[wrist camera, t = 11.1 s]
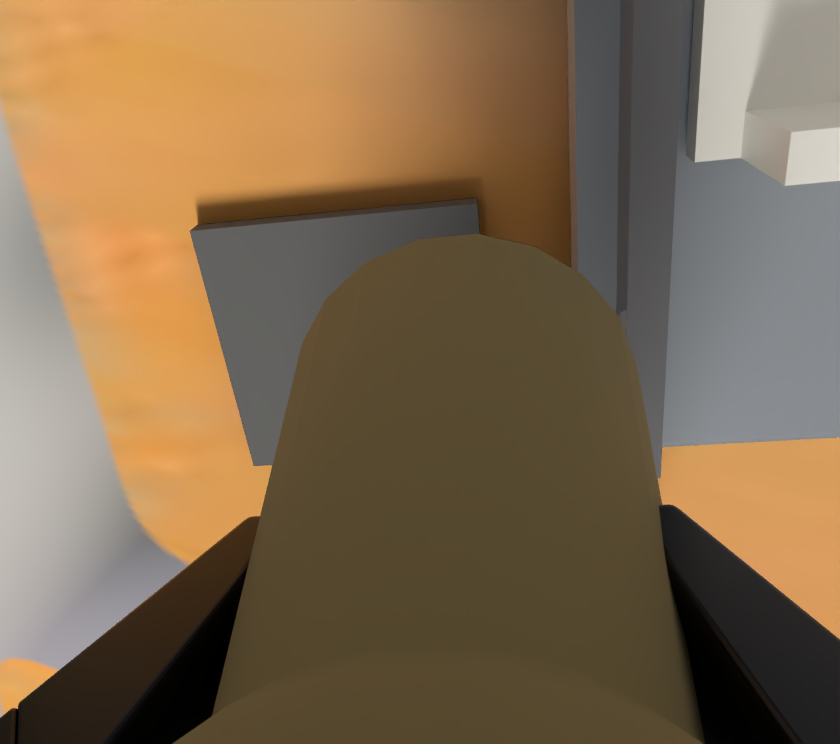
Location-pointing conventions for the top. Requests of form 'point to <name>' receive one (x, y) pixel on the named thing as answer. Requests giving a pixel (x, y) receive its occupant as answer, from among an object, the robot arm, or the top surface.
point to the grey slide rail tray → (697, 244)
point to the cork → (460, 522)
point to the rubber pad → (296, 290)
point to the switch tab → (767, 87)
